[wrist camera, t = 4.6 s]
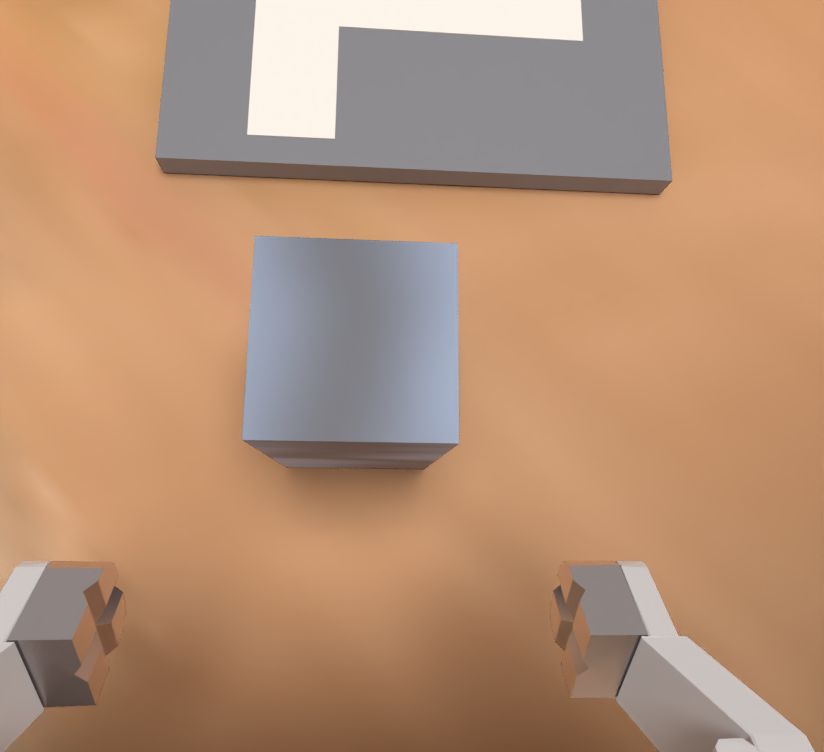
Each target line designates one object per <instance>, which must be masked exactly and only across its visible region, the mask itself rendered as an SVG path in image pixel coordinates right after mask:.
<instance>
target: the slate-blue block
mask: <svg viewBox="0 0 824 752" xmlns="http://www.w3.org/2000/svg"><path fill="white" fill-rule="evenodd" d="M242 440H243V441H245V442H246V443H248V444H249V445H251V446H253V447H254V448H256V449H257V450H259V451H261V452H262V453H264V454H266V455H267V456H269V457H270V458H272V459H274V460H275V461H277V462H279V463H280V464H282V465H283V466H285V467H297V468H373V469H425V468H426V467H428V466H429V465H430V464H432V463H433V462H435V461H436V460H437V459H439V458H440V457H441V456H443V455H444V454H445V453H447V452H448V451H450V450H451V449H452V448H454V447H455V446H456V445H458V444H459V354H458V243H432V242H405V241H379V240H353V239H327V238H300V237H274V236H255V241H254V257H253V273H252V289H251V305H250V320H249V336H248V352H247V368H246V384H245V400H244V416H243V432H242Z"/></svg>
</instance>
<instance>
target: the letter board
mask: <svg viewBox="0 0 824 752" xmlns="http://www.w3.org/2000/svg"><path fill="white" fill-rule="evenodd" d="M155 158H156V160H157V161H158V163H159V165H160V166H161V168H162V170H163V172H164V173H183V174H206V175H229V176H252V177H275V178H298V179H321V180H344V181H367V182H389V183H412V184H435V185H458V186H481V187H504V188H527V189H550V190H573V191H596V192H618V193H641V194H660V193H661V192H662V191H663V190H664V189H665V188H666V187H667V186H668V185H669V184H670V183H671V182H672V173H671V161H670V148H669V136H668V124H667V112H666V100H665V88H664V75H663V63H662V51H661V39H660V27H659V15H658V2H657V0H171V4H170V14H169V24H168V34H167V44H166V54H165V64H164V74H163V85H162V95H161V105H160V115H159V125H158V135H157V145H156V155H155Z"/></svg>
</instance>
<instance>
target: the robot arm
mask: <svg viewBox="0 0 824 752" xmlns="http://www.w3.org/2000/svg"><path fill="white" fill-rule="evenodd" d="M117 578H118V573H117V570H116V567H115V564H114V563H110V562H76V561H22V562H21V563H20V564H19V565H18V566H16V567H15V568H14V570H13V572H12V573H11V575H10V577H9V578H8V580H7V582H6V583H5V585H4V587H3V589H2V590H1V592H0V752H4V751H5V750H6V749H7V748H8V747H9V746H10V745H11V744H12V743H13V742H14V741H15V740H16V739H17V738H18V737H19V736H20V735H21V734H22V733H23V732H24V731H25V730H26V729H27V728H28V727H29V726H30V725H31V724H32V723H33V722H34V721H35V720H36V719H37V718H38V716H39V715H40V714H41V713H42V712H43V711H44V708H43V707H65V706H88V705H96V704H97V701H98V698H99V696H100V693H101V690H102V688H103V685H104V682H105V680H106V677H107V674H108V672H109V666H108V663H107V660H106V656H107V655H108V654H109V653H110V652H111V651H113V650H114V649H115V648H116V647H117V646H118V644H119V642H120V639H121V636H122V633H123V629H124V623H125V617H126V602H125V598H124V594H123V592H122V591H121V590H119V589H118V588H117V587H115V586H114V585H115V583H116V580H117ZM558 579H559V582H560V586H559V587H557V588H556V589H555V590H554V591H553V594H552V598H551V603H550V619H551V626H552V631H553V635H554V639H555V642H556V643H557V644H558V645H559V646H560V647H561V648H562V649H563V650H564V651H565V652H564V655H563V659H562V662H561V666H562V669H563V673H564V677H565V680H566V684H567V688H568V691H569V695H570V698H617V699H616V702H617V703H618V704H619V705H620V706H621V708H622V709H623V710H624V711H625V712H626V713H627V715H628V716H629V717H630V718H631V719H632V720H633V722H634V723H635V724H636V725H637V726H638V728H639V729H640V730H641V731H642V732H643V733H644V735H645V736H646V737H647V738H648V739H649V740H650V742H651V743H652V744H653V745H654V746H655V747H656V749H657V750H658V751H659V752H815V751H814V750H813V748H812V746H811V744H810V742H809V740H808V739H807V737H806V735H805V734H804V733H802V732H801V731H800V730H799V729H798V728H796V727H795V726H794V725H793V724H792V723H790V722H789V721H788V720H787V719H786V718H784V717H783V716H782V715H781V714H780V713H778V712H777V711H776V710H775V709H774V708H772V707H771V706H770V705H769V704H767V703H766V702H765V701H764V700H763V699H761V698H760V697H759V696H758V695H757V694H755V693H754V692H753V691H752V690H751V689H749V688H748V687H747V686H746V685H745V684H743V683H742V682H741V681H740V680H739V679H737V678H736V677H735V676H734V675H733V674H731V673H730V672H729V671H728V670H727V669H725V668H724V667H723V666H722V665H721V664H719V663H718V662H717V661H716V660H715V659H713V658H712V657H711V656H710V655H709V654H707V653H706V652H705V651H704V650H703V649H701V648H700V647H699V646H698V645H697V644H695V643H694V642H693V641H692V640H691V639H689V638H688V637H687V636H679V635H678V633H677V631H676V629H675V627H674V624H673V622H672V620H671V618H670V616H669V613H668V611H667V609H666V607H665V605H664V602H663V600H662V598H661V596H660V594H659V591H658V589H657V587H656V585H655V583H654V581H653V578H652V576H651V574H650V572H649V570H648V567H647V565H646V564H645V563H643V562H642V561H615V562H614V561H563V563H562V564H561V565H560V567H559V571H558Z"/></svg>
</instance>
